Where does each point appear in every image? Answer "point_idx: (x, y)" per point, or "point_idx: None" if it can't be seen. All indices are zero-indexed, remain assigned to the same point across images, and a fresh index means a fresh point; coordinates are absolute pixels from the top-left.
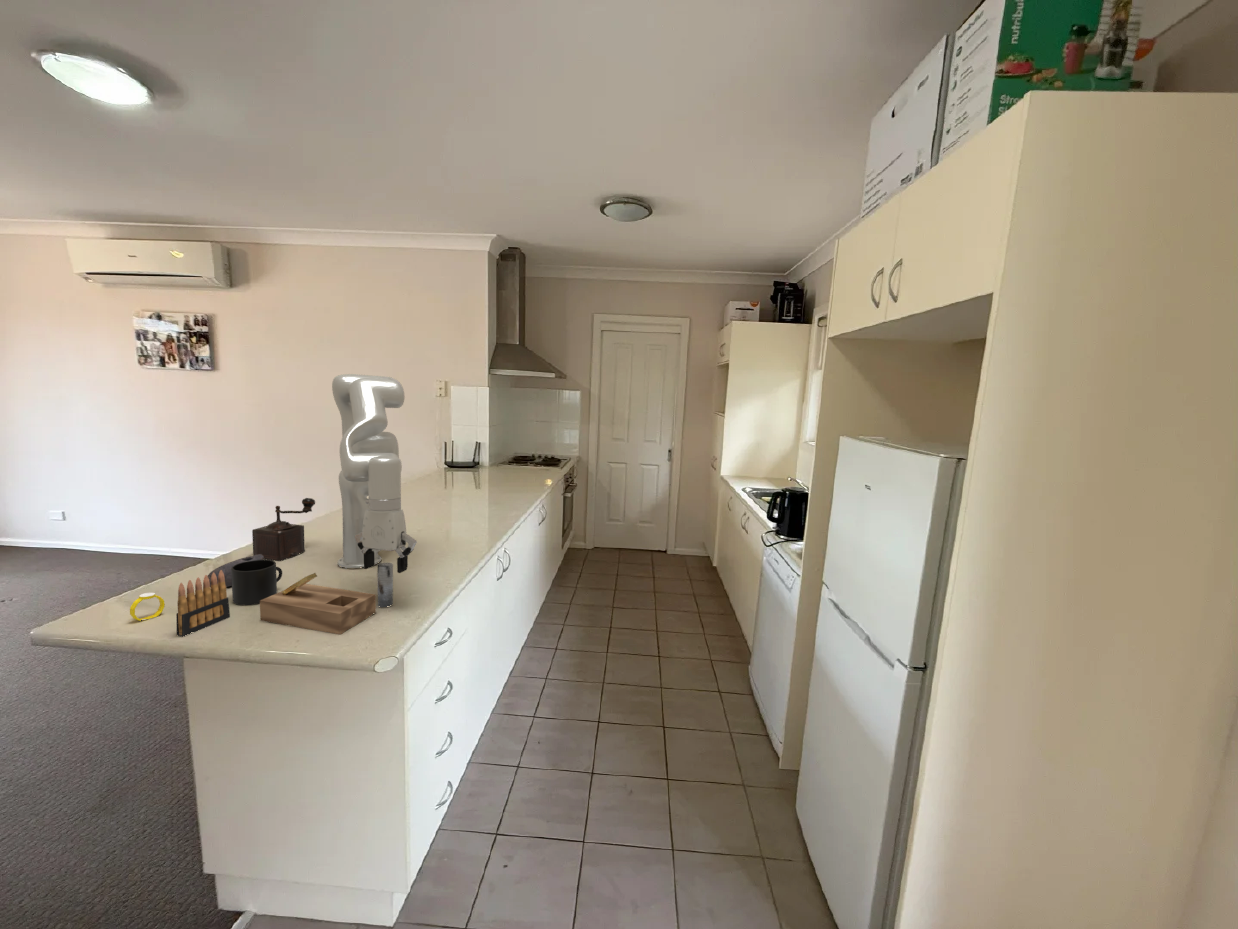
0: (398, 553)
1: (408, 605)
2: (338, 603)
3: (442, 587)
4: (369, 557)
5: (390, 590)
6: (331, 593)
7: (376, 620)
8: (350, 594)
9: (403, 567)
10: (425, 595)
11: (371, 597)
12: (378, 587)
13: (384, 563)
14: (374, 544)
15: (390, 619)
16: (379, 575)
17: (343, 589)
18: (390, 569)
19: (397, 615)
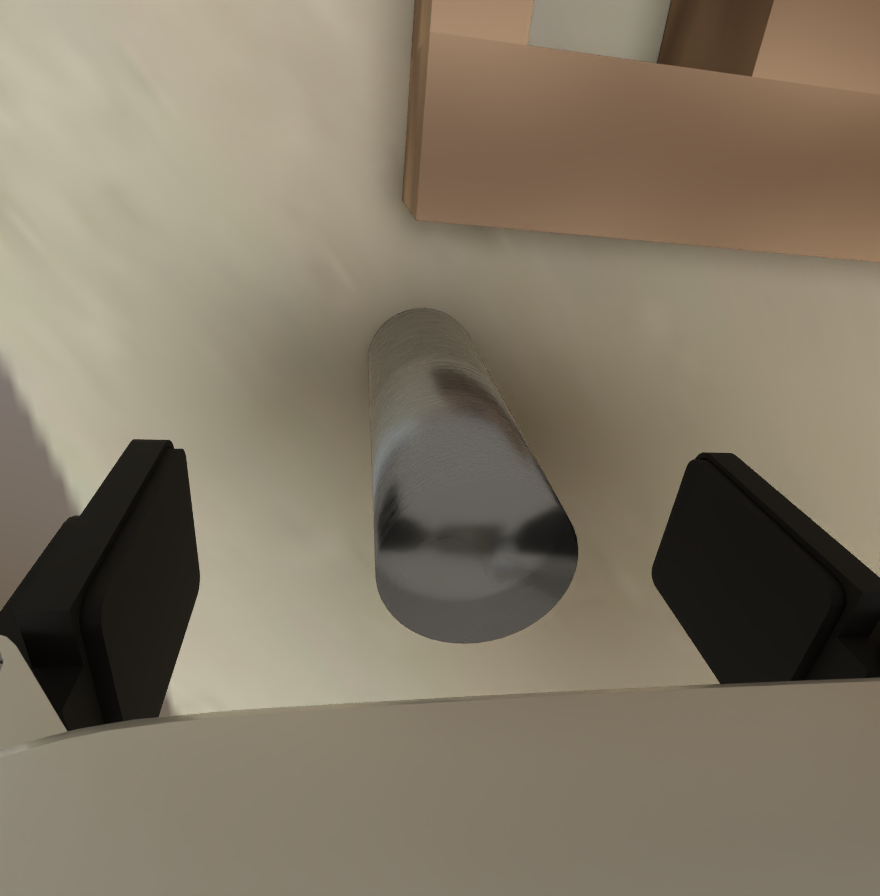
0: (14, 727)
1: (254, 402)
2: (724, 37)
3: (234, 689)
4: (761, 601)
5: (372, 401)
6: (872, 115)
7: (308, 58)
8: (670, 140)
9: (70, 523)
10: (254, 570)
11: (419, 142)
12: (477, 372)
13: (515, 603)
14: (849, 832)
15: (205, 111)
16: (485, 421)
17: (790, 252)
18: (378, 524)
19: (205, 208)
